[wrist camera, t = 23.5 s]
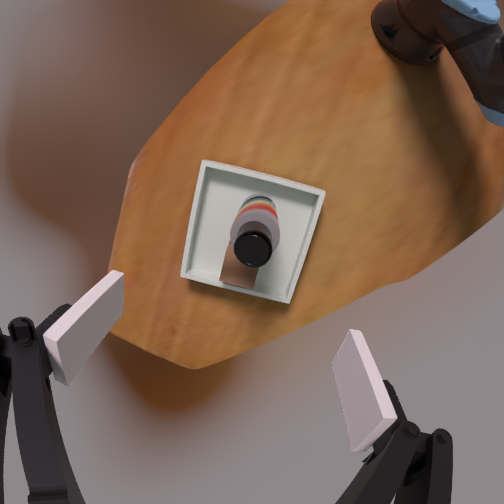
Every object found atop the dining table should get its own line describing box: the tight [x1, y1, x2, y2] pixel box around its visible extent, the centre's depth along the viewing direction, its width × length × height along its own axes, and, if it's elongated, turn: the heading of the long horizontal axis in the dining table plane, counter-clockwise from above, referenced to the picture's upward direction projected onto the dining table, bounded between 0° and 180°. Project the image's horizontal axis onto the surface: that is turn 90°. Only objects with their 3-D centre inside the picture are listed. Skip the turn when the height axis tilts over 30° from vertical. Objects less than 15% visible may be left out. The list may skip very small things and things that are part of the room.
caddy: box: [180, 160, 326, 304], centre depth 47 cm, size 20×20×5 cm
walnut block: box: [219, 239, 259, 289], centre depth 46 cm, size 6×6×6 cm
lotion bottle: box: [230, 194, 280, 268], centre depth 36 cm, size 6×6×20 cm
